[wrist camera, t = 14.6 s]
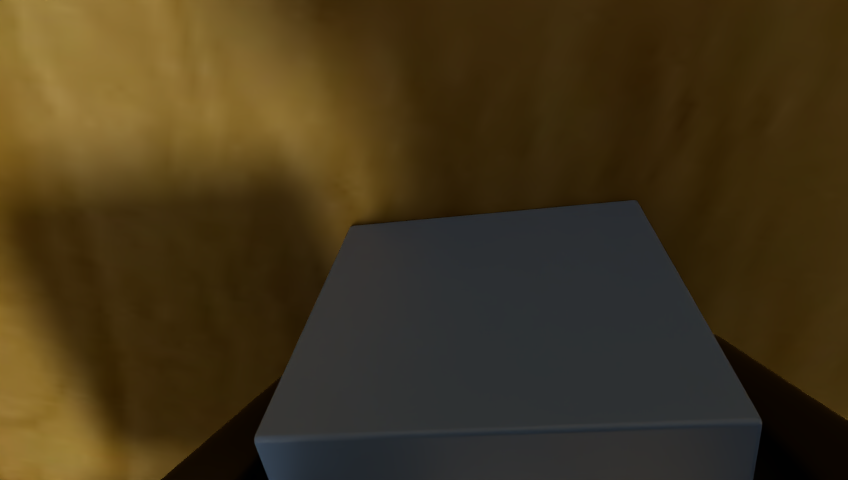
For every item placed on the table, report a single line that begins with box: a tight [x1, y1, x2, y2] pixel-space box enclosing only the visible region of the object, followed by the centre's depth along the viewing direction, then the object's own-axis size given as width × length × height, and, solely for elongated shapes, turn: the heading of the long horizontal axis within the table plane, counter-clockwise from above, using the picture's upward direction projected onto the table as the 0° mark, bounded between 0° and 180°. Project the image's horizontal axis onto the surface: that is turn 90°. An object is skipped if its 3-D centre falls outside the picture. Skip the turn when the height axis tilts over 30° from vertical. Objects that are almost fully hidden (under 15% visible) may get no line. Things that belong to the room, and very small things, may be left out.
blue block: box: [254, 200, 762, 480], centre depth 8 cm, size 4×4×4 cm
